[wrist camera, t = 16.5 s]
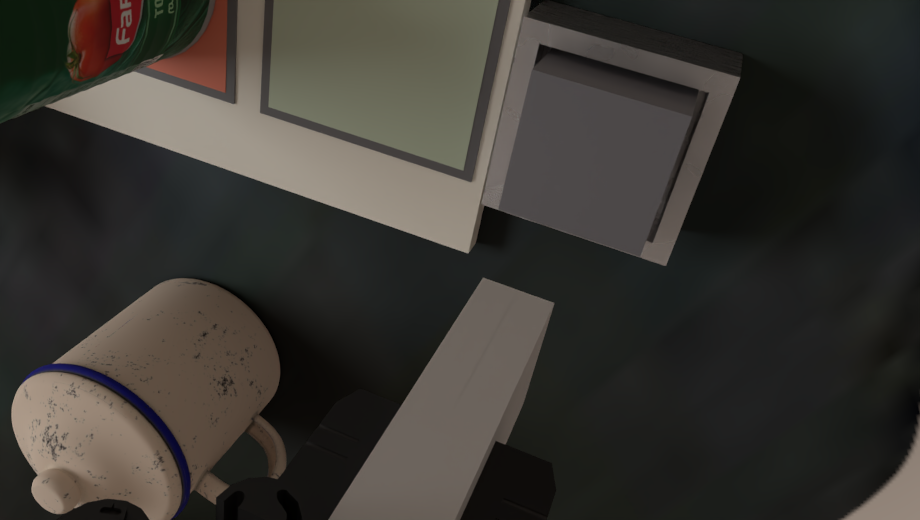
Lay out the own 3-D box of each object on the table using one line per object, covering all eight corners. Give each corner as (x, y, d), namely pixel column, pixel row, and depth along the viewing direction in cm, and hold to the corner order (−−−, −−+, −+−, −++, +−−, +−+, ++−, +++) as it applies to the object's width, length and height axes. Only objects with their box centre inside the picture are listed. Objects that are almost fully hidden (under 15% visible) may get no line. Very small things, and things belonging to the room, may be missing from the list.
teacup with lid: (125, 347, 44) (-53, 491, 34) (166, 237, 39) (-31, 372, 29) (296, 467, 44) (165, 645, 34) (359, 374, 39) (226, 553, 29)
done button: (651, 218, 28) (640, 256, 25) (521, 176, 29) (498, 209, 26) (699, 88, 25) (692, 116, 23) (554, 46, 26) (532, 69, 24)
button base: (674, 229, 30) (665, 265, 27) (504, 174, 31) (481, 204, 28) (742, 53, 26) (740, 77, 23) (545, -1, 27) (524, 16, 25)
